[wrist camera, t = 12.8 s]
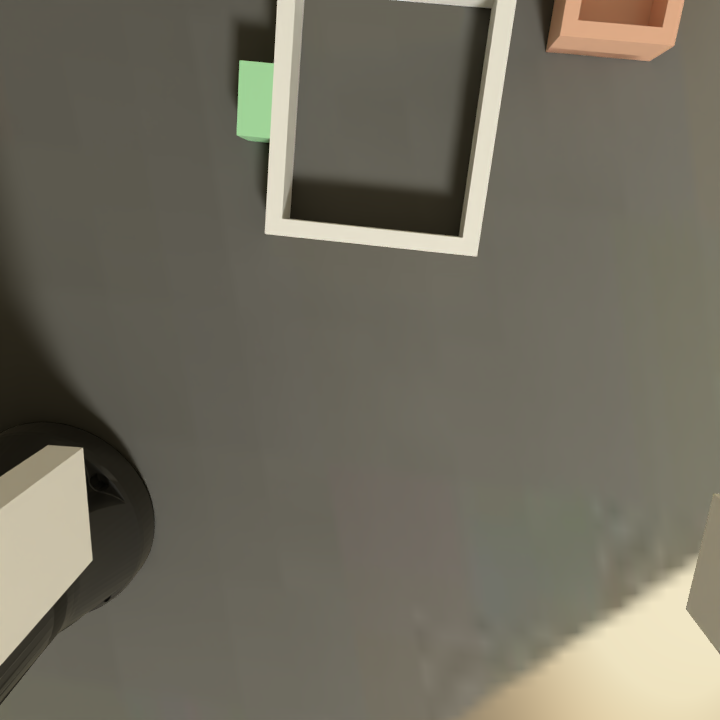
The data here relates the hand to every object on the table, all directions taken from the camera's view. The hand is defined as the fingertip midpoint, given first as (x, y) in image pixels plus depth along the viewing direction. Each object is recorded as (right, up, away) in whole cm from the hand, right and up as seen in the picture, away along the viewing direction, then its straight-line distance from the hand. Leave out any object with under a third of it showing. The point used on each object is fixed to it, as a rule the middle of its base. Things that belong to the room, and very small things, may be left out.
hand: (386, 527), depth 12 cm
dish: (+14, +24, +20) cm, 34 cm away
